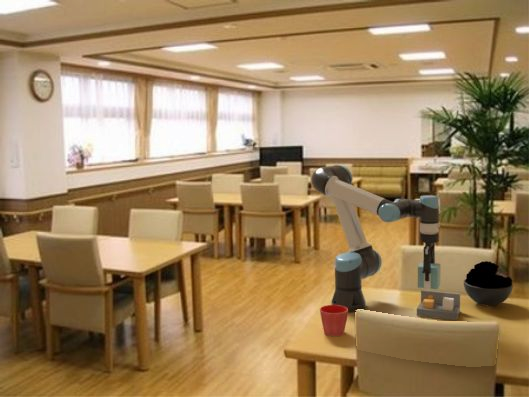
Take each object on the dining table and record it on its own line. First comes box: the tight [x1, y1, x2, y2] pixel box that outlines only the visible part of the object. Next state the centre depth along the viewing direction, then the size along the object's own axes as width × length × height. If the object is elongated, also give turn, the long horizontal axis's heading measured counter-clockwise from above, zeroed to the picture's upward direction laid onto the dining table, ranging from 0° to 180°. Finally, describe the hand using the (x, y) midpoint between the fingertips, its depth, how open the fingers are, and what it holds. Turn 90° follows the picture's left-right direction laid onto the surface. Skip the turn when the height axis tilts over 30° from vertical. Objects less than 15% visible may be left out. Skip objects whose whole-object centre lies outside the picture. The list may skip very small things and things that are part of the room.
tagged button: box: [423, 299, 434, 308], centre depth 231 cm, size 4×4×5 cm
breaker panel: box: [416, 289, 461, 321], centre depth 230 cm, size 16×12×8 cm
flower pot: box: [319, 304, 349, 337], centre depth 212 cm, size 11×11×10 cm
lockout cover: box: [417, 261, 441, 290], centre depth 230 cm, size 8×8×9 cm
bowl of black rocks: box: [463, 260, 514, 307], centre depth 239 cm, size 20×20×19 cm
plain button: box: [443, 297, 454, 311], centre depth 228 cm, size 4×4×5 cm
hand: (429, 285), depth 230 cm, fingers closed on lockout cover, 8 cm apart
